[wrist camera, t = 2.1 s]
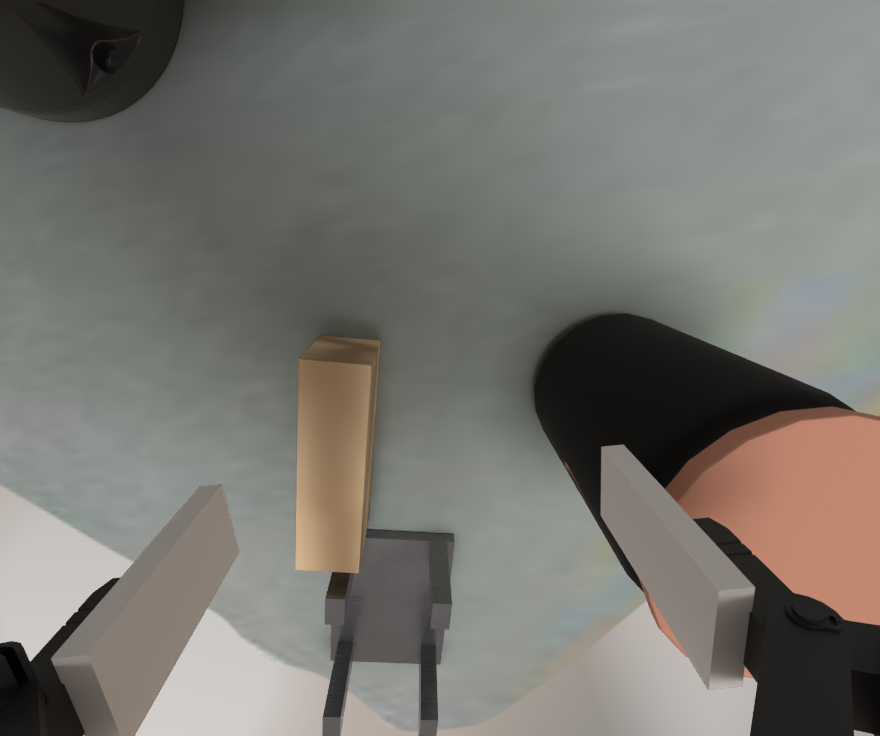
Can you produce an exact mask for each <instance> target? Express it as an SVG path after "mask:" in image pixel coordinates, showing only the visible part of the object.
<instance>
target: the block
mask: <svg viewBox="0 0 880 736" xmlns="http://www.w3.org/2000/svg"><path fill="white" fill-rule="evenodd" d="M380 345H381V341H379V340H368V339H357V338H346V337H335V336H324V335H321V336H320V337H319V338H318V339H317V340H316V341H315V342H314V343H313V344H312V345H311V346H310V347H309V349H308V350H307V351H306V352H305V353H304V354H303V355H302V356H301V357H300V358H299V362H298V433H297V504H296V570H310V571H327V572H344V573H359V569H360V564H361V558H362V553H363V548H364V542H365V537H366V531H367V526H368V521H369V509H370V494H371V479H372V464H373V449H374V434H375V419H376V404H377V389H378V374H379V360H380Z"/></svg>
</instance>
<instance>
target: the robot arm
mask: <svg viewBox="0 0 880 736" xmlns="http://www.w3.org/2000/svg"><path fill="white" fill-rule="evenodd" d="M182 7H183V0H0V107H1V108H5V109H8V110H11V111H15V112H18V113H22V114H26V115H29V116H33V117H36V118H41V119H45V120H52V121H61V122H79V121H88V120H93V119H98V118H101V117H105V116H108V115H110V114H113V113H115V112H117V111H120V110H122V109H124V108H125V107H127V106H128V105H130V104H132V103H133V102H134V101H136V100H137V99H138V98H140V97H141V96H142V95H143V94H144V93H145V92H146V91H147V90H148V89H149V88H150V87H151V86H152V85H153V83H154V82H155V81H156V80H157V78H158V77H159V75H160V74H161V72H162V71H163V69H164V68H165V66H166V64H167V62H168V60H169V58H170V56H171V53H172V51H173V48H174V45H175V42H176V40H177V36H178V32H179V28H180V22H181V17H182ZM601 517H602V518H603V520H604V522H605V523H606V525H607V527H608V528H609V530H610V531H611V533H612V535H613V536H614V538H615V540H616V541H617V543H618V544H619V546H620V548H621V549H622V551H623V552H624V554H625V556H626V557H627V559H628V561H629V562H630V564H631V565H632V567H633V569H634V570H635V572H636V574H637V575H638V577H639V578H640V580H641V582H642V583H643V585H644V587H645V588H646V590H647V591H648V593H649V595H650V596H651V598H652V599H653V601H654V603H655V604H656V606H657V608H658V609H659V611H660V612H661V614H662V616H663V617H664V619H665V621H666V622H667V624H668V625H669V627H670V629H671V630H672V632H673V634H674V635H675V637H676V638H677V640H678V642H679V643H680V645H681V647H682V648H683V650H684V651H685V653H686V655H687V656H688V658H689V659H690V661H691V663H692V664H693V666H694V668H695V669H696V671H697V672H698V674H699V676H700V677H701V679H702V681H703V682H704V684H705V685H706V687H707V689H708V690H715V689H725V688H735V687H742V684H743V676H744V669H745V667H746V668H747V670H748V671H749V672H750V674H751V675H752V676H753V678H754V679H755V680H756V682H757V683H758V684H757V691H756V698H755V706H754V712H753V719H752V725H751V732H750V736H854V730H857V731H862V732H867V733H871V734H874V736H880V625H874V624H867V623H861V622H854V621H848V620H844V619H843V618H842V617H841V616H840V615H839V614H838V613H837V612H836V611H835V610H833V609H832V608H830V607H829V606H827V605H826V604H824V603H823V602H821V601H818V600H816V599H814V598H811V597H809V596H805V595H800V594H796V593H793V592H792V591H791V590H790V589H789V588H788V587H787V586H786V585H785V584H784V583H783V582H782V581H781V580H780V579H779V578H778V577H777V576H776V575H775V574H774V573H773V572H772V571H771V570H770V569H769V568H768V567H767V566H766V565H765V564H764V563H763V562H762V561H761V560H760V559H759V558H758V557H757V556H756V555H753V554H752V551H751V550H749V549H748V548H747V547H746V546H745V545H744V544H742V543H741V541H740V540H739V539H738V538H737V537H736V536H735V535H734V534H733V533H732V532H731V531H730V530H729V529H728V528H727V527H725V526H723V525H722V524H720V523H718V522H716V521H714V520H713V519H711V518H709V517H707V518H697V519H692V518H691V517H690V516H689V515H688V514H687V513H686V512H685V511H684V510H683V509H682V507H681V506H680V505H679V504H678V503H677V502H676V501H675V500H674V499H673V498H672V497H671V496H670V494H669V493H668V492H667V491H666V490H665V489H664V488H663V487H662V486H661V485H660V484H659V483H658V481H657V480H656V479H655V478H654V477H653V476H652V475H651V474H650V473H649V472H648V471H647V470H646V468H645V467H644V466H643V465H642V464H641V463H640V462H639V461H638V460H637V459H636V458H635V457H634V455H633V454H632V453H631V452H630V451H629V450H628V449H627V448H626V447H625V446H624V445H614V446H604V447H601ZM238 553H239V548H238V544H237V541H236V537H235V533H234V529H233V525H232V521H231V518H230V514H229V510H228V506H227V502H226V498H225V494H224V491H223V487H222V484H221V485H211V486H201V487H199V488H198V489H197V490H196V491H195V493H194V494H193V495H192V496H191V497H190V498H189V499H188V501H187V502H186V503H185V504H184V505H183V506H182V508H181V509H180V510H179V511H178V512H177V513H176V514H175V516H174V517H173V518H172V519H171V520H170V521H169V523H168V524H167V525H166V526H165V527H164V528H163V530H162V531H161V532H160V533H159V534H158V535H157V536H156V538H155V539H154V540H153V541H152V542H151V543H150V545H149V546H148V547H147V548H146V549H145V550H144V551H143V553H142V554H141V555H140V556H139V557H138V558H137V560H136V561H135V562H134V563H133V564H132V565H131V567H130V568H129V569H128V570H127V571H126V572H125V573H124V575H123V576H122V577H121V578H113V579H111V580H110V581H109V582H107V583H106V584H105V585H104V586H102V587H100V588H99V589H98V590H96V591H95V592H94V593H92V594H91V596H90V597H89V598H88V599H87V600H86V601H85V602H84V603H83V604H82V605H81V607H80V608H79V609H78V612H76V613H74V614H73V615H72V617H71V618H70V619H69V620H68V621H67V622H66V625H65V626H62V628H61V629H60V630H59V631H58V632H57V633H56V634H55V635H54V637H53V638H52V639H51V640H50V641H49V642H48V643H47V644H46V645H45V646H44V647H43V648H42V650H41V651H40V652H39V653H38V654H37V655H36V656H35V657H34V658H33V660H32V661H31V662H30V661H29V660H28V657H27V655H26V652H25V650H24V648H23V646H22V645H21V643H18V642H12V641H11V642H6V643H0V736H83V735H84V736H135V734H136V732H137V730H138V729H139V727H140V725H141V724H142V722H143V720H144V718H145V717H146V715H147V713H148V711H149V710H150V708H151V706H152V704H153V703H154V701H155V699H156V697H157V695H158V694H159V692H160V690H161V688H162V687H163V685H164V683H165V681H166V680H167V678H168V676H169V674H170V673H171V671H172V669H173V667H174V666H175V664H176V662H177V660H178V658H179V656H180V655H181V653H182V651H183V649H184V648H185V646H186V644H187V643H188V641H189V639H190V637H191V636H192V634H193V632H194V630H195V629H196V627H197V625H198V623H199V622H200V620H201V618H202V616H203V614H204V613H205V611H206V609H207V608H208V606H209V604H210V602H211V601H212V599H213V597H214V595H215V594H216V592H217V590H218V588H219V586H220V585H221V583H222V581H223V579H224V578H225V576H226V574H227V572H228V571H229V569H230V567H231V565H232V564H233V562H234V560H235V558H236V557H237V555H238Z"/></svg>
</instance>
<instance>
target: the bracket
mask: <svg viewBox="0 0 880 736" xmlns="http://www.w3.org/2000/svg"><path fill="white" fill-rule="evenodd" d="M453 550H454V534H440V533H422V532H403V531H384V530H367V531H366V537H365V542H364V548H363V553H362V558H361V564H360V569H359V573H344V572H332V576H331V579H330V583H329V587H328V591H327V595H326V599H325V624H330V625H332V636H331V660H332V661H334V665H333V670H332V675H331V680H330V685H329V690H328V695H327V699H326V705H325V709H324V715H323V736H340V734H341V728H342V722H343V716H344V710H345V704H346V697H347V691H348V685H349V679H350V673H351V666H352V661H359V662H386V663H414V664H419V736H436V733H437V724H438V704H437V672H436V664H440V662H441V653H442V645H443V636H444V629H449V624H450V616H451V608H452V599H451V586H450V576H451V567H452V559H453Z"/></svg>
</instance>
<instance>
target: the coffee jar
mask: <svg viewBox="0 0 880 736" xmlns="http://www.w3.org/2000/svg"><path fill="white" fill-rule="evenodd" d="M535 408H536V412H537V415H538V417H539V420H540V423H541V425H542V428H543V430H544V432H545V434H546V435H547V437H548V439H549V441H550V442H551V444H552V446H553V447H554V449H555V451H556V453H557V454H558V456H559V458H560V460H561V461H562V463H563V465H564V466H565V468H566V470H567V472H568V473H569V475H570V477H571V478H572V480H573V482H574V484H575V485H576V487H577V489H578V491H579V492H580V494H581V496H582V497H583V499H584V501H585V503H586V504H587V506H588V508H589V510H590V511H591V513H592V515H593V516H594V518H595V520H596V522H597V523H598V525H599V527H600V529H601V530H602V532H603V534H604V535H605V537H606V539H607V541H608V542H609V544H610V546H611V548H612V549H613V551H614V553H615V554H616V556H617V558H618V560H619V561H620V563H621V565H622V566H623V568H624V570H625V572H626V573H627V575H628V576H629V577H630V578H631V579H632V580H633V581H634V582H635V583H636V585H637V586H638V587H639V588H640V589H641V590H642V591H643V592H644V594H645V596H646V599H647V602H648V605H649V607H650V610H651V613H652V615H653V617H654V619H655V621H656V623H657V626H658V628H659V629H660V630H661V631H662V632H663V633H664V634H665V635H666V636H667V637H668V638H669V639H670V640H671V641H672V643H673V644H674V645H675V646H676V647H677V648H678V649H679V650H680V651H681V652H682V653H683V654H684V655H685V656H686V657H688V656H687V655H686V653H685V651H684V650H683V648H682V647H681V645H680V643H679V642H678V640H677V638H676V637H675V635H674V634H673V632H672V630H671V629H670V627H669V625H668V624H667V622H666V621H665V619H664V617H663V616H662V614H661V612H660V611H659V609H658V608H657V606H656V604H655V603H654V601H653V599H652V598H651V596H650V595H649V593H648V591H647V590H646V588H645V587H644V585H643V583H642V582H641V580H640V578H639V577H638V575H637V574H636V572H635V570H634V569H633V567H632V565H631V564H630V562H629V561H628V559H627V557H626V556H625V554H624V552H623V551H622V549H621V548H620V546H619V544H618V543H617V541H616V540H615V538H614V536H613V535H612V533H611V531H610V530H609V528H608V527H607V525H606V523H605V522H604V520H603V518H602V517H601V447H604V446H614V445H624V446H625V447H626V448H627V449H628V450H629V451H630V452H631V453H632V454H633V455H634V457H635V458H636V459H637V460H638V461H639V462H640V463H641V464H642V465H643V466H644V467H645V468H646V470H647V471H648V472H649V473H650V474H651V475H652V476H653V477H654V478H655V479H656V480H657V481H658V483H659V484H660V485H661V486H662V487H663V488H664V489H665V490H666V491H667V492H668V493H669V494H670V496H671V497H672V498H673V499H674V500H675V501H676V502H677V503H678V504H679V505H680V506H681V507H682V509H683V510H684V511H685V512H686V513H687V514H688V515H689V516H690V517H691V518H692V519H697V518H707V517H709V518H711V519H713V520H714V521H716V522H718V523H720V524H722V525H723V526H725V527H727V528H728V529H729V530H730V531H731V532H732V533H733V534H734V535H735V536H736V537H737V538H738V539H739V540H740V541H741V543H742V544H744V545H745V546H746V547H747V548H748V549H749V550H751V551H752V554H753V555H756V556H757V557H758V558H759V559H760V560H761V561H762V562H763V563H764V564H765V565H766V566H767V567H768V568H769V569H770V570H771V571H772V572H773V573H774V574H775V575H776V576H777V577H778V578H779V579H780V580H781V581H782V582H783V583H784V584H785V585H786V586H787V587H788V588H789V589H790V590H791V591H792V592H793V593H796V594H800V595H805V596H809V597H811V598H814V599H816V600H818V601H821V602H823V603H824V604H826V605H827V606H829V607H830V608H832V609H833V610H835V611H836V612H837V613H838V614H839V615H840V616H841V617H842V618H843V619H844V620H848V621H854V622H861V623H867V624H874V625H880V417H879V416H874V415H870V414H865V413H860V412H856V411H855V410H853V409H852V408H850V407H849V406H847V405H846V404H844V403H843V402H841V401H840V400H838V399H837V398H835V397H834V396H832V395H831V394H829V393H827V392H825V391H822V390H820V389H817V388H815V387H812V386H810V385H808V384H805V383H803V382H800V381H798V380H796V379H793V378H791V377H788V376H786V375H784V374H781V373H779V372H776V371H774V370H772V369H769V368H767V367H764V366H762V365H760V364H757V363H755V362H752V361H750V360H747V359H745V358H743V357H740V356H738V355H735V354H733V353H731V352H728V351H726V350H723V349H721V348H719V347H716V346H714V345H711V344H709V343H707V342H704V341H702V340H699V339H697V338H695V337H692V336H690V335H687V334H685V333H682V332H680V331H678V330H675V329H673V328H670V327H668V326H666V325H663V324H661V323H658V322H656V321H654V320H651V319H647V318H643V317H639V316H634V315H630V314H619V315H609V316H600V317H598V318H596V319H593V320H591V321H588V322H586V323H583V324H581V325H579V326H576V327H575V328H574V329H573V330H572V331H570V332H569V333H568V334H567V335H565V336H564V337H563V338H562V339H560V340H559V341H558V342H557V343H556V344H555V345H554V347H553V348H552V350H551V351H550V353H549V354H548V356H547V357H546V359H545V360H544V362H543V363H542V365H541V368H540V372H539V375H538V378H537V382H536V385H535ZM743 677H749V678H753V676H752V675H751V674H750V672H749V671H748V670H747V668H746V667H745V669H744V676H743Z"/></svg>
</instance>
